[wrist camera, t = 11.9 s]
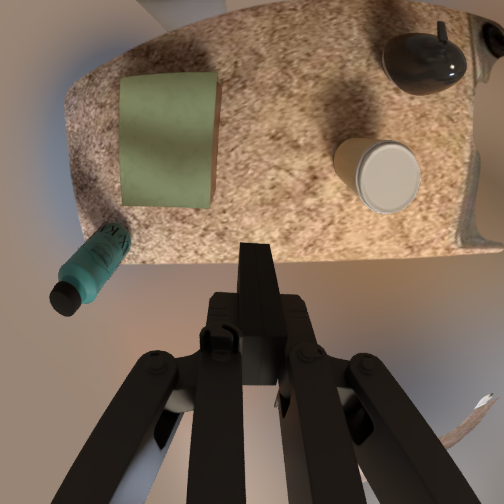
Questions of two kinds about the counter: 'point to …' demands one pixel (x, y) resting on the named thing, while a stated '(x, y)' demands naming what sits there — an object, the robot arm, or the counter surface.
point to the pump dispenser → (423, 62)
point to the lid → (167, 139)
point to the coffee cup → (378, 173)
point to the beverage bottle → (90, 268)
